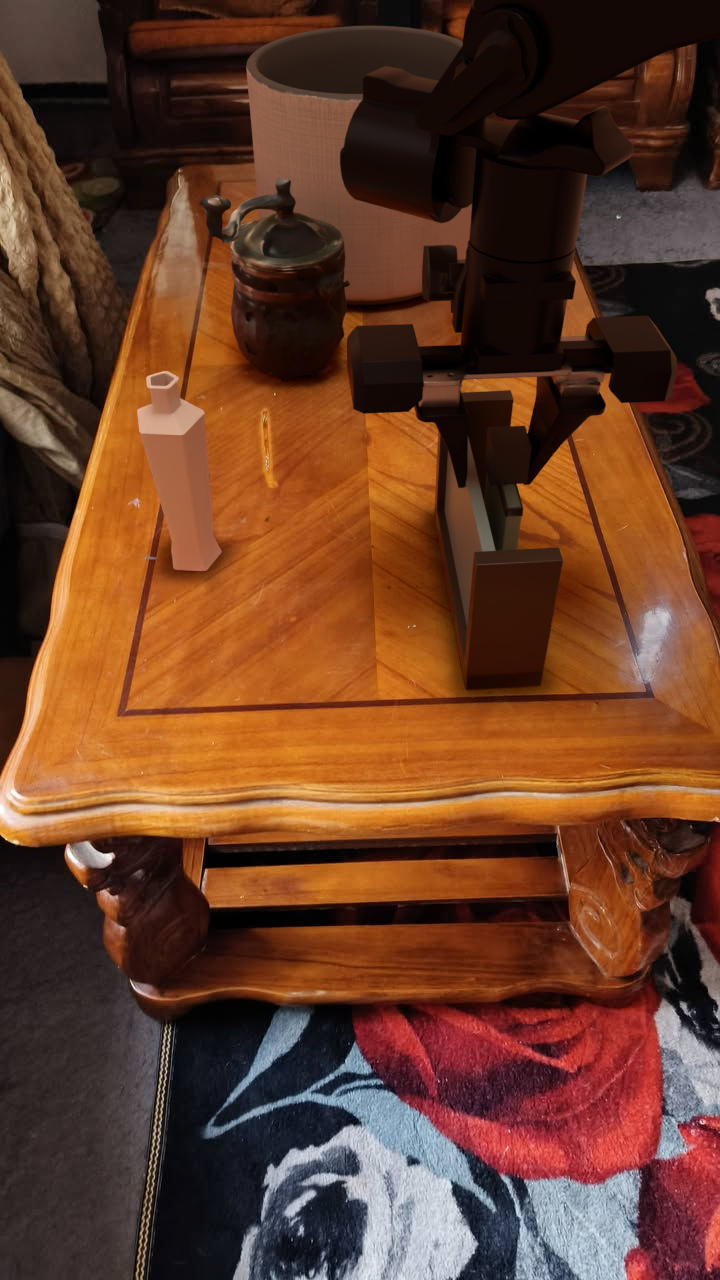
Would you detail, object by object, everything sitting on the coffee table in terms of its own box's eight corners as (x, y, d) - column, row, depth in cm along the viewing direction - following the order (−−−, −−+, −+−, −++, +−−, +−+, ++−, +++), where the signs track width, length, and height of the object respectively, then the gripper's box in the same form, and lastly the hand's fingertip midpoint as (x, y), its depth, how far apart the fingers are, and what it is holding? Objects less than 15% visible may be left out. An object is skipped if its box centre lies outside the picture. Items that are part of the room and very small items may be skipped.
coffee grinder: (187, 393, 88) (153, 192, 75) (263, 319, 97) (244, 129, 84) (311, 424, 84) (298, 217, 71) (378, 344, 93) (377, 148, 80)
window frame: (497, 512, 75) (510, 389, 67) (540, 685, 63) (563, 560, 55) (434, 516, 75) (439, 393, 67) (465, 690, 63) (476, 565, 55)
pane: (502, 537, 71) (518, 404, 62) (519, 605, 66) (539, 470, 57) (470, 539, 71) (482, 406, 62) (485, 607, 66) (499, 472, 57)
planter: (448, 213, 114) (457, 18, 99) (488, 304, 98) (506, 88, 84) (258, 227, 112) (239, 30, 98) (269, 321, 97) (248, 104, 82)
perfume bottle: (230, 536, 74) (204, 361, 63) (219, 575, 71) (189, 398, 60) (172, 533, 74) (136, 359, 63) (158, 571, 71) (118, 395, 60)
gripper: (647, 184, 58) (600, 412, 69) (339, 192, 57) (341, 423, 68) (710, 259, 50) (647, 504, 61) (353, 271, 49) (354, 518, 60)
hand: (493, 482), depth 62 cm, fingers open, 4 cm apart
